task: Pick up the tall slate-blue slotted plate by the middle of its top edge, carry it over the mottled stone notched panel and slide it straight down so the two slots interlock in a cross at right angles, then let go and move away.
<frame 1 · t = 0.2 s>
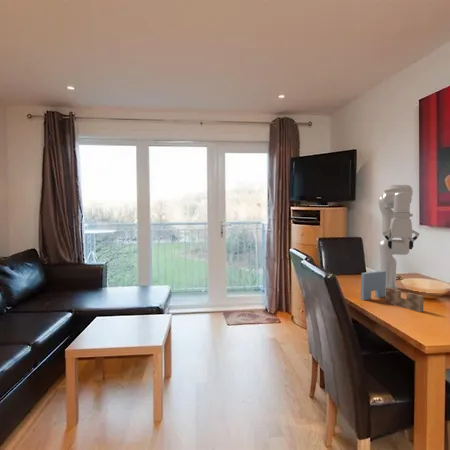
hand: (400, 248, 176), 31 cm above the table, tool pointing down, fingers open, 9 cm apart
mottled stone notched panel: (403, 306, 178), on the table
decorative tile: (380, 278, 253), on the table
slate slotted plate: (373, 297, 195), on the table
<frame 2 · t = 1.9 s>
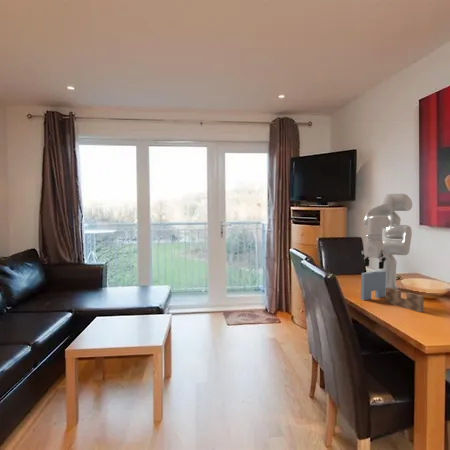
hand: (373, 267, 193), 18 cm above the table, tool pointing down, fingers open, 9 cm apart
nothing on the table moved.
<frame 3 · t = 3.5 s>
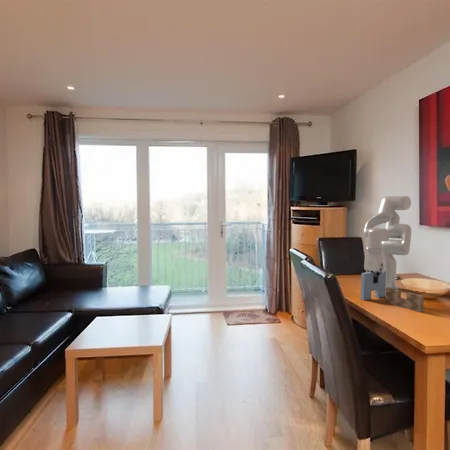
hand: (373, 282, 194), 9 cm above the table, tool pointing down, fingers closed on slate slotted plate, 2 cm apart
slate slotted plate: (373, 297, 195), on the table, touching gripper
everything else where it was.
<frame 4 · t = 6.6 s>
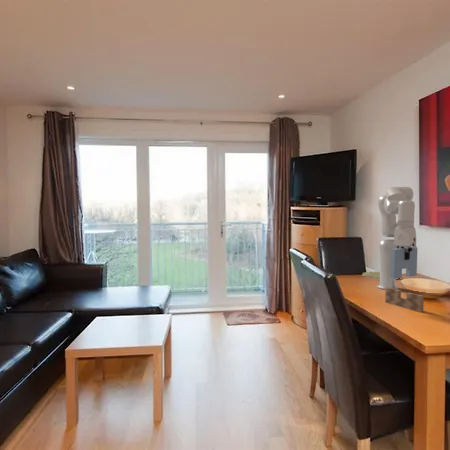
hand: (404, 259, 177), 25 cm above the table, tool pointing down, fingers closed on slate slotted plate
slate slotted plate: (403, 276, 177), point 16 cm above the table, touching gripper
everything else where it was.
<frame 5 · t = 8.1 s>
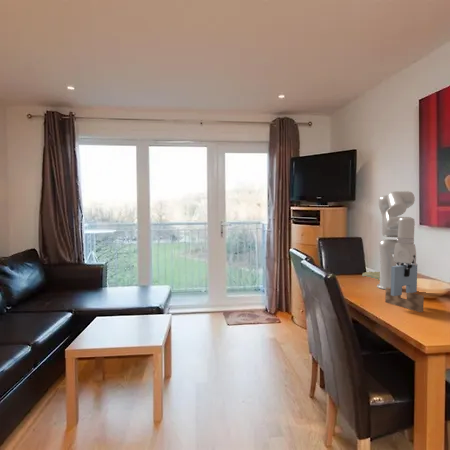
hand: (404, 275, 177), 16 cm above the table, tool pointing down, fingers closed on slate slotted plate
slate slotted plate: (403, 293, 177), point 7 cm above the table, touching gripper
everything else where it was.
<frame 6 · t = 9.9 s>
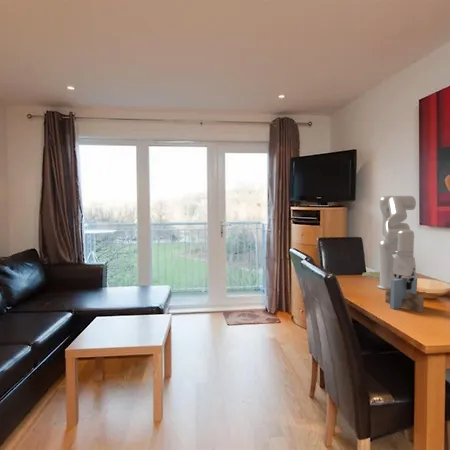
hand: (404, 288, 177), 10 cm above the table, tool pointing down, fingers open, 4 cm apart
slate slotted plate: (403, 306, 178), on the table
everything else where it was.
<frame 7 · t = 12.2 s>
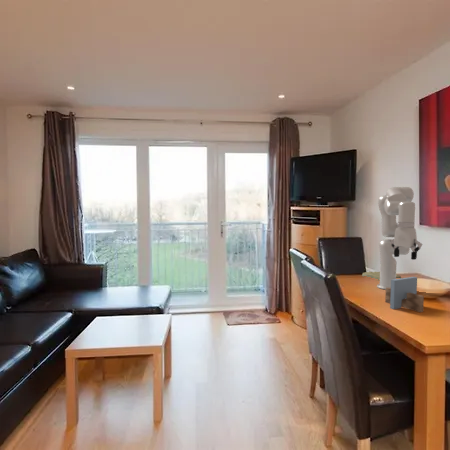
hand: (405, 258, 177), 26 cm above the table, tool pointing down, fingers open, 9 cm apart
nothing on the table moved.
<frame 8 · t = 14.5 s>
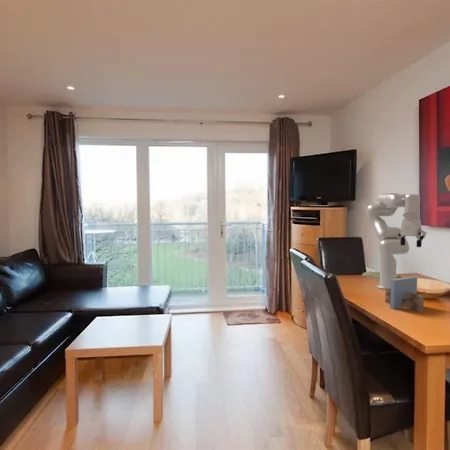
hand: (410, 246, 192), 30 cm above the table, tool pointing down, fingers open, 9 cm apart
nothing on the table moved.
at the end: slate slotted plate 0.1 cm off-centre on the mottled stone notched panel, point 0.0 cm above the mottled stone notched panel's base; slate slotted plate tilted 0°; the gripper is holding nothing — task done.
